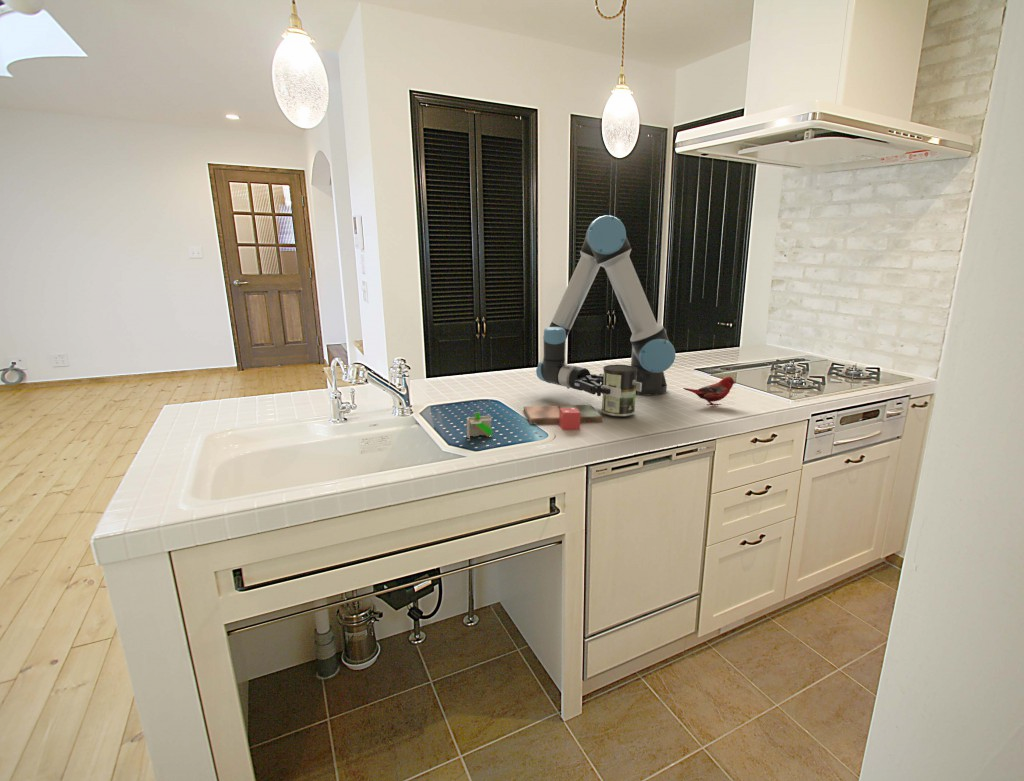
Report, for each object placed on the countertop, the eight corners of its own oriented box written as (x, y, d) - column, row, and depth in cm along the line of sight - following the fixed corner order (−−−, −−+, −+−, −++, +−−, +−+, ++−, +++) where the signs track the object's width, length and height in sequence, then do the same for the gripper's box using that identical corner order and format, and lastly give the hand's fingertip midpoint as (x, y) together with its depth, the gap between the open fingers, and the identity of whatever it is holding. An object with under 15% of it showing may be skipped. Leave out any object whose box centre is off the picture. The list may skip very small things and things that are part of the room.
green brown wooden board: (590, 409, 171) (590, 404, 171) (602, 421, 159) (602, 416, 158) (523, 411, 168) (523, 406, 168) (530, 424, 156) (530, 418, 155)
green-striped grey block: (494, 440, 144) (494, 412, 142) (470, 443, 142) (470, 414, 140) (490, 435, 147) (490, 408, 145) (466, 438, 145) (466, 410, 143)
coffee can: (634, 407, 169) (637, 364, 166) (635, 417, 160) (638, 372, 156) (602, 405, 171) (604, 363, 168) (600, 415, 162) (602, 370, 158)
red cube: (575, 423, 157) (576, 407, 155) (579, 429, 152) (580, 412, 151) (558, 424, 156) (559, 407, 155) (562, 429, 151) (563, 412, 150)
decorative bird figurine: (735, 407, 175) (738, 377, 172) (682, 407, 174) (685, 378, 171) (731, 404, 178) (734, 375, 175) (679, 404, 177) (682, 375, 174)
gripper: (596, 382, 185) (650, 395, 169) (551, 394, 170) (607, 409, 154) (596, 361, 183) (652, 372, 167) (552, 371, 168) (608, 384, 152)
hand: (630, 390), depth 160 cm, fingers closed on coffee can, 10 cm apart
